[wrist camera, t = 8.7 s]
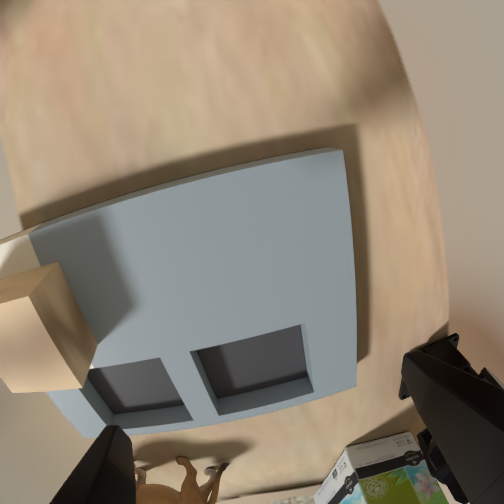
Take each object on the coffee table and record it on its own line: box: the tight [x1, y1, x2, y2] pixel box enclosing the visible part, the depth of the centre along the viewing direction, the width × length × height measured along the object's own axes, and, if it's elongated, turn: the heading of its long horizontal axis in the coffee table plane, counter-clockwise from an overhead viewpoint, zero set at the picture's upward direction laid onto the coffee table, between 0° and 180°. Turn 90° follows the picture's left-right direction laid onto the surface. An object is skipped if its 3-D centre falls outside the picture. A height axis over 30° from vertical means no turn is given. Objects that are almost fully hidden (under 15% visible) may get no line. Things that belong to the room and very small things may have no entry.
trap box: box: [0, 147, 357, 438], centre depth 20 cm, size 18×24×2 cm
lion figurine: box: [134, 457, 229, 504], centre depth 23 cm, size 15×5×9 cm, turn 99°
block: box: [0, 261, 98, 393], centre depth 15 cm, size 6×6×4 cm
